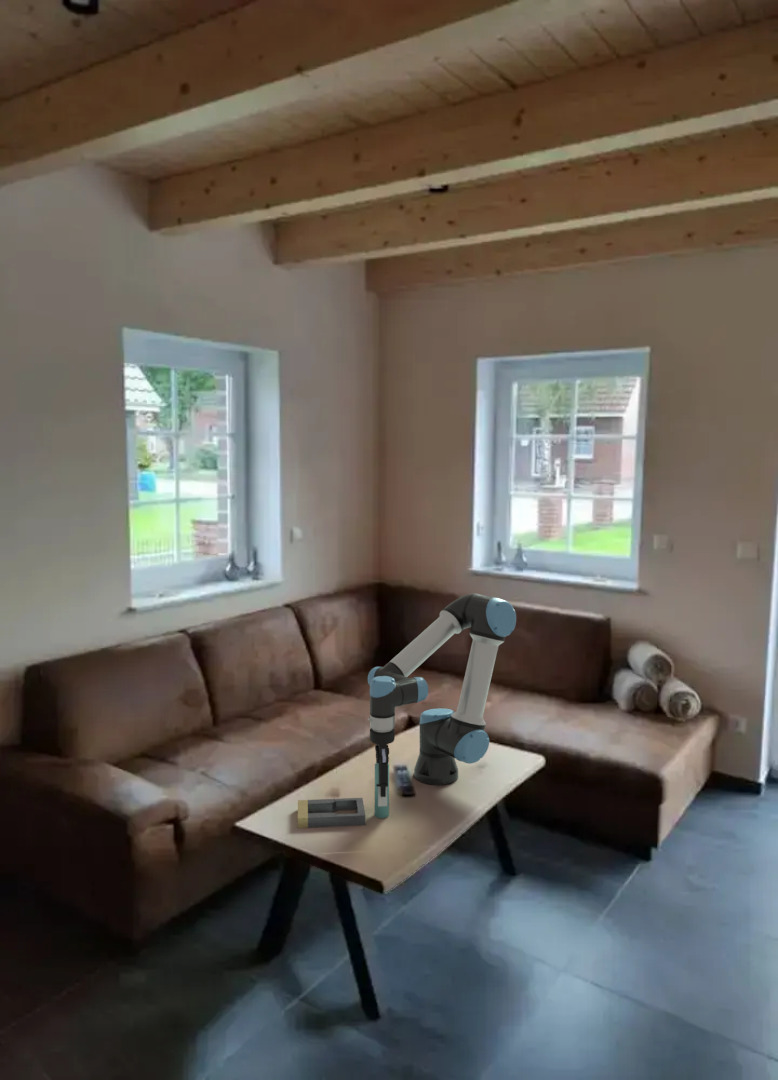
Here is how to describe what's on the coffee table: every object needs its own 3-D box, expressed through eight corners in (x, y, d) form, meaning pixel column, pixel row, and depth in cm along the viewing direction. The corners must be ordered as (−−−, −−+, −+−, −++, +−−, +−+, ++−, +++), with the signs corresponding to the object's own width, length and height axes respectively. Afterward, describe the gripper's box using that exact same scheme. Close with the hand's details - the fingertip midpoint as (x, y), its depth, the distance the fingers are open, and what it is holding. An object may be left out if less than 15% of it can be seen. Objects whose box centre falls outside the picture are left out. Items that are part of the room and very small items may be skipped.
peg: (388, 811, 243) (388, 761, 241) (389, 817, 239) (389, 767, 237) (373, 811, 243) (374, 762, 241) (375, 818, 238) (375, 767, 236)
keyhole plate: (362, 806, 246) (362, 797, 246) (365, 824, 234) (365, 815, 234) (298, 809, 244) (297, 800, 244) (297, 828, 232) (297, 818, 232)
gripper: (367, 718, 246) (367, 790, 248) (372, 739, 229) (372, 815, 231) (391, 718, 247) (390, 789, 249) (397, 738, 229) (397, 814, 232)
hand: (381, 801), depth 240 cm, fingers closed on peg, 4 cm apart
